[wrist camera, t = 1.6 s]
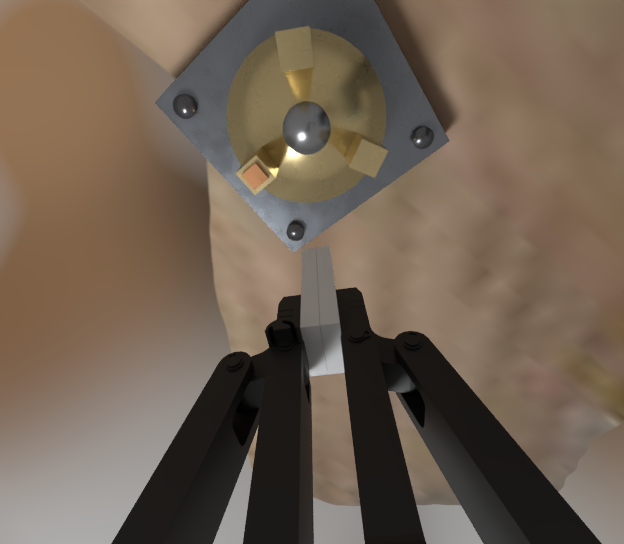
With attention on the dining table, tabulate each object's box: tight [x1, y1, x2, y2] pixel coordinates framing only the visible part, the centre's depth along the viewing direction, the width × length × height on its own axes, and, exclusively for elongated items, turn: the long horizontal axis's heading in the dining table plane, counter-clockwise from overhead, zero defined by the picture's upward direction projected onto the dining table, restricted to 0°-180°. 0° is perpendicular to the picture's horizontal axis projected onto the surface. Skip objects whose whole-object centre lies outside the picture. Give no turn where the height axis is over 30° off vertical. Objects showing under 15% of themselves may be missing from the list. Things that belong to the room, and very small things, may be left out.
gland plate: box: [155, 0, 449, 253], centre depth 32 cm, size 20×20×3 cm
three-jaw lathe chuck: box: [227, 26, 388, 203], centre depth 29 cm, size 14×14×6 cm
